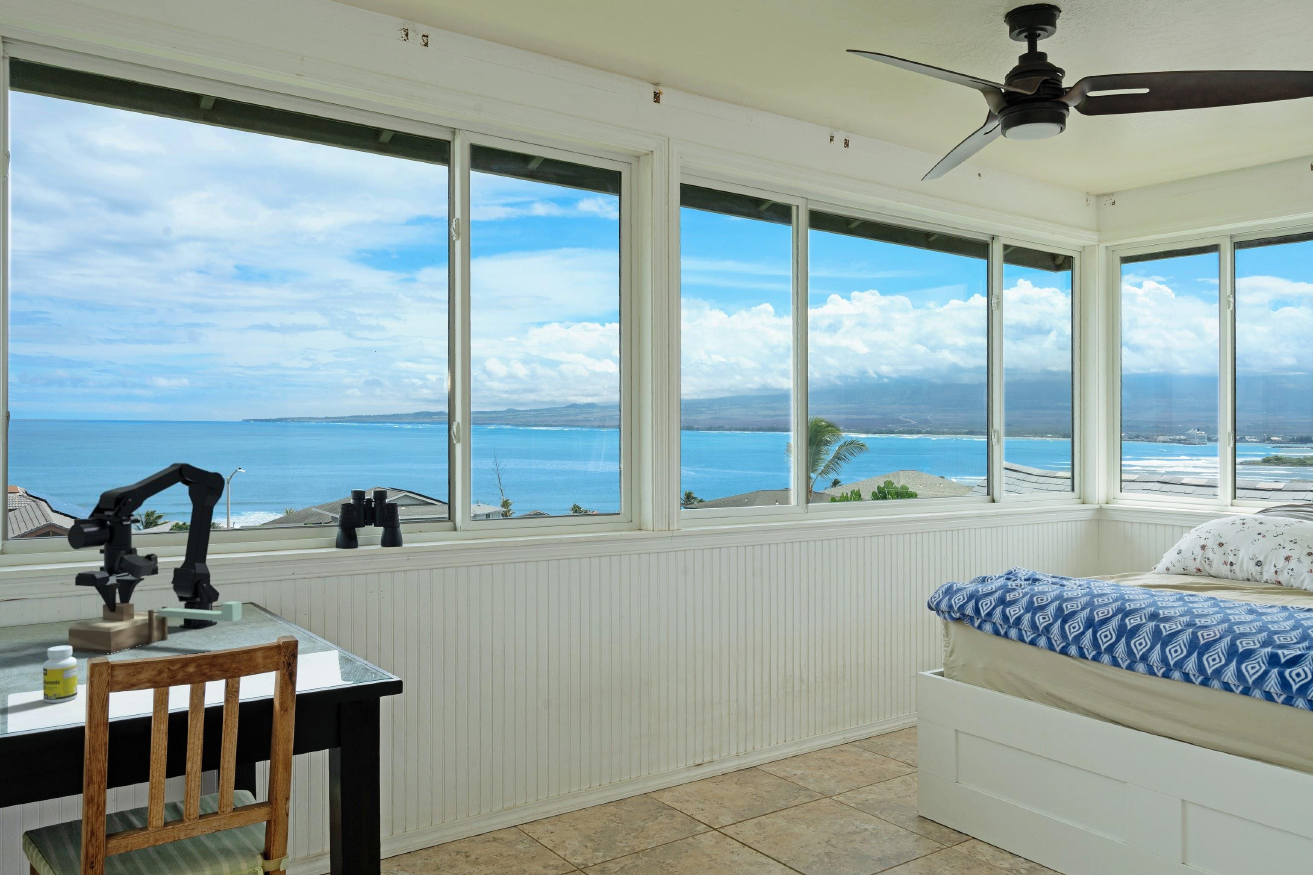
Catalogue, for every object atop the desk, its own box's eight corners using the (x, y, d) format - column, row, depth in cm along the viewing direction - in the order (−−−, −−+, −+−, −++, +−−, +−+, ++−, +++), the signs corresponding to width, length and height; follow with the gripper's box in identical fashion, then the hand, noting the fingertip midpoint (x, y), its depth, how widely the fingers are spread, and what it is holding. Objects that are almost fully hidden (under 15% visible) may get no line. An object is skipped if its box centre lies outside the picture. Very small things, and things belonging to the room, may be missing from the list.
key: (167, 613, 225) (167, 597, 225) (241, 618, 220) (241, 601, 219) (157, 616, 222) (157, 599, 222) (232, 621, 217) (232, 604, 217)
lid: (125, 618, 230) (125, 596, 230) (164, 621, 227) (164, 599, 227) (70, 632, 215) (70, 609, 215) (110, 635, 212) (110, 611, 212)
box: (122, 635, 231) (122, 603, 231) (169, 638, 227) (169, 606, 227) (65, 650, 215) (64, 616, 215) (114, 654, 212) (114, 619, 211)
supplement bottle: (36, 701, 176) (36, 649, 176) (63, 693, 181) (63, 643, 181) (57, 704, 174) (56, 652, 174) (84, 696, 179) (83, 645, 179)
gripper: (112, 550, 210) (113, 620, 210) (176, 540, 228) (177, 604, 228) (72, 548, 213) (73, 617, 213) (139, 538, 231) (139, 602, 231)
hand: (118, 610), depth 221 cm, fingers closed on lid, 3 cm apart
